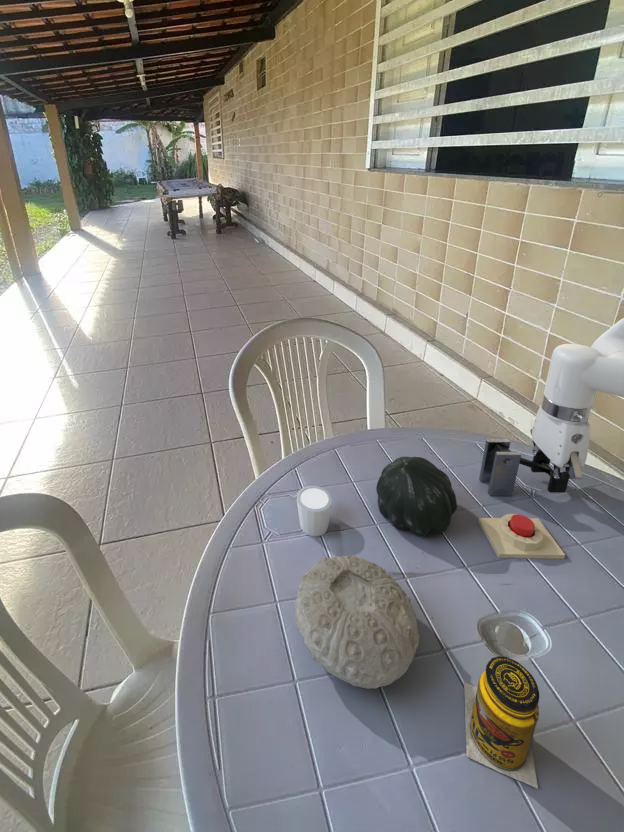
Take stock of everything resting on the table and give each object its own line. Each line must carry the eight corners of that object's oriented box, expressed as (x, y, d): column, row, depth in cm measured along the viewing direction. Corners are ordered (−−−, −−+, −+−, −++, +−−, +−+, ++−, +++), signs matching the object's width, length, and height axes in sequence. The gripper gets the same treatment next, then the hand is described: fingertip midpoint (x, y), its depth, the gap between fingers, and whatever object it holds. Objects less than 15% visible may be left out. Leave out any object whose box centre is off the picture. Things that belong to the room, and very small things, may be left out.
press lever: (541, 467, 90) (548, 459, 89) (556, 484, 85) (563, 476, 84) (486, 448, 89) (492, 439, 88) (498, 464, 84) (505, 455, 84)
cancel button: (525, 521, 78) (527, 514, 78) (537, 537, 75) (539, 530, 74) (505, 521, 79) (507, 514, 78) (516, 537, 75) (517, 530, 75)
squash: (467, 481, 86) (419, 428, 85) (476, 542, 73) (419, 481, 73) (408, 503, 94) (363, 454, 93) (406, 562, 81) (354, 507, 80)
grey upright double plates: (512, 477, 94) (521, 432, 89) (536, 508, 85) (547, 461, 81) (456, 477, 95) (463, 433, 90) (474, 508, 86) (482, 461, 82)
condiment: (466, 757, 51) (480, 697, 47) (463, 683, 59) (476, 625, 54) (537, 790, 48) (559, 729, 44) (526, 707, 56) (544, 648, 51)
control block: (536, 526, 81) (540, 510, 80) (562, 564, 74) (567, 547, 72) (476, 526, 82) (479, 510, 81) (497, 563, 75) (501, 546, 73)
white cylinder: (332, 540, 81) (332, 513, 79) (296, 537, 82) (295, 510, 80) (330, 512, 87) (331, 486, 85) (297, 510, 89) (296, 484, 86)
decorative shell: (404, 588, 71) (409, 545, 68) (427, 717, 55) (436, 669, 52) (298, 575, 75) (297, 533, 71) (291, 693, 59) (289, 646, 55)
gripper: (620, 433, 73) (595, 513, 80) (557, 384, 89) (541, 454, 96) (574, 434, 74) (553, 513, 80) (520, 385, 90) (507, 454, 96)
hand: (547, 480), depth 88 cm, fingers closed on press lever, 5 cm apart
